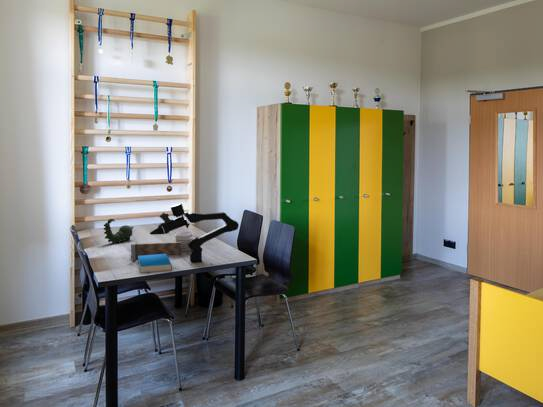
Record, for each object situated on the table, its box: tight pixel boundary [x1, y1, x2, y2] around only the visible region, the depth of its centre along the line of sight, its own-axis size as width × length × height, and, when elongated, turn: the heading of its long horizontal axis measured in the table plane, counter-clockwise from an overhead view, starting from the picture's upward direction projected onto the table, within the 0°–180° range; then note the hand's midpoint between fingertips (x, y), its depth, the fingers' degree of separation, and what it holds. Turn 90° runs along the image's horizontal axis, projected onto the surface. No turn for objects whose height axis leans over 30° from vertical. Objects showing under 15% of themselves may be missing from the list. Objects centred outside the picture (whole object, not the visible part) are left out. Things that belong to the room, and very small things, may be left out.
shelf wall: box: [130, 241, 182, 258], centre depth 285 cm, size 30×2×8 cm, turn 101°
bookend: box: [131, 240, 138, 262], centre depth 276 cm, size 2×10×10 cm, turn 11°
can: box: [174, 231, 194, 254], centre depth 297 cm, size 11×11×12 cm
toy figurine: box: [103, 218, 135, 244], centre depth 327 cm, size 9×19×25 cm
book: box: [137, 254, 173, 273], centre depth 263 cm, size 17×4×25 cm
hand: (150, 233), depth 261 cm, fingers open, 9 cm apart
